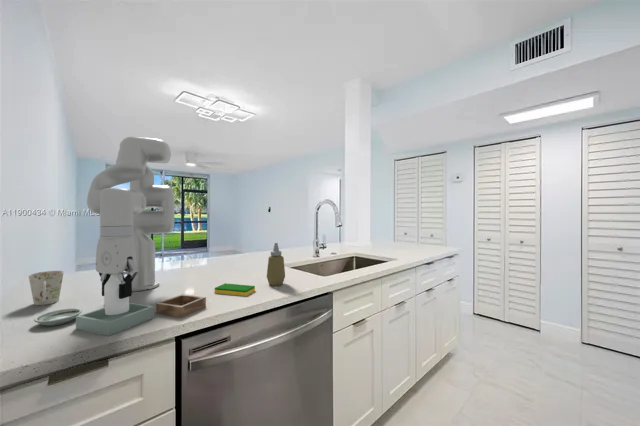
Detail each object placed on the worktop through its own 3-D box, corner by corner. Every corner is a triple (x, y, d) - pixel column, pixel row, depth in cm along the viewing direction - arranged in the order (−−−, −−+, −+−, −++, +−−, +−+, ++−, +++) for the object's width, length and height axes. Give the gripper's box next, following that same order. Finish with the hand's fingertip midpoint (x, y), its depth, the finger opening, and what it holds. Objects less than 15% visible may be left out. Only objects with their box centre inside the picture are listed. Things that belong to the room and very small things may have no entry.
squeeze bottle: (283, 287, 112) (284, 244, 112) (264, 286, 112) (264, 244, 112) (286, 282, 120) (286, 242, 120) (268, 281, 121) (268, 241, 120)
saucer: (25, 332, 70) (25, 323, 70) (45, 319, 78) (45, 310, 78) (73, 326, 73) (73, 317, 73) (87, 314, 82) (87, 306, 82)
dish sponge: (246, 297, 100) (246, 290, 100) (214, 294, 104) (214, 287, 104) (255, 291, 107) (255, 285, 107) (224, 289, 111) (224, 283, 111)
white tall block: (134, 268, 77) (113, 272, 72) (134, 309, 77) (113, 316, 72) (119, 266, 79) (98, 270, 74) (119, 307, 79) (98, 313, 74)
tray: (75, 328, 72) (75, 316, 72) (123, 312, 84) (123, 301, 84) (108, 335, 68) (108, 322, 68) (153, 317, 79) (153, 306, 79)
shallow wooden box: (156, 313, 83) (156, 303, 83) (182, 302, 92) (182, 294, 92) (181, 317, 80) (181, 307, 80) (205, 306, 89) (205, 297, 89)
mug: (63, 296, 98) (63, 269, 98) (63, 305, 89) (63, 275, 89) (29, 302, 92) (29, 273, 92) (26, 312, 83) (26, 280, 83)
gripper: (81, 232, 75) (81, 296, 75) (125, 234, 69) (125, 303, 69) (110, 230, 82) (109, 289, 82) (152, 232, 76) (151, 295, 76)
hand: (116, 295), depth 76 cm, fingers closed on white tall block, 6 cm apart
